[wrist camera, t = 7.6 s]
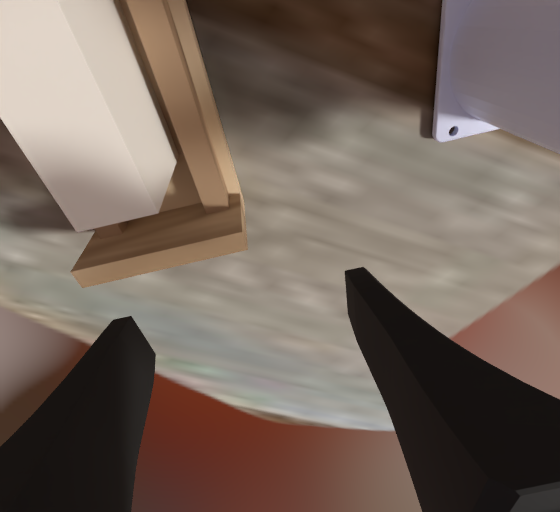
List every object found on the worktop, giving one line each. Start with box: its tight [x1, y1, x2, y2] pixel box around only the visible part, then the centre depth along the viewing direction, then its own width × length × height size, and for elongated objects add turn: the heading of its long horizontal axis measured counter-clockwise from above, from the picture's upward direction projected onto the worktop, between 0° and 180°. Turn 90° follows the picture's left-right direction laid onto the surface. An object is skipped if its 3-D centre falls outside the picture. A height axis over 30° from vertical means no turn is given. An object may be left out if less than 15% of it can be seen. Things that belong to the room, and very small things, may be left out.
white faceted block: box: [0, 0, 179, 232], centre depth 12 cm, size 3×7×6 cm, turn 11°
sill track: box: [71, 0, 248, 288], centre depth 14 cm, size 12×8×5 cm, turn 11°
